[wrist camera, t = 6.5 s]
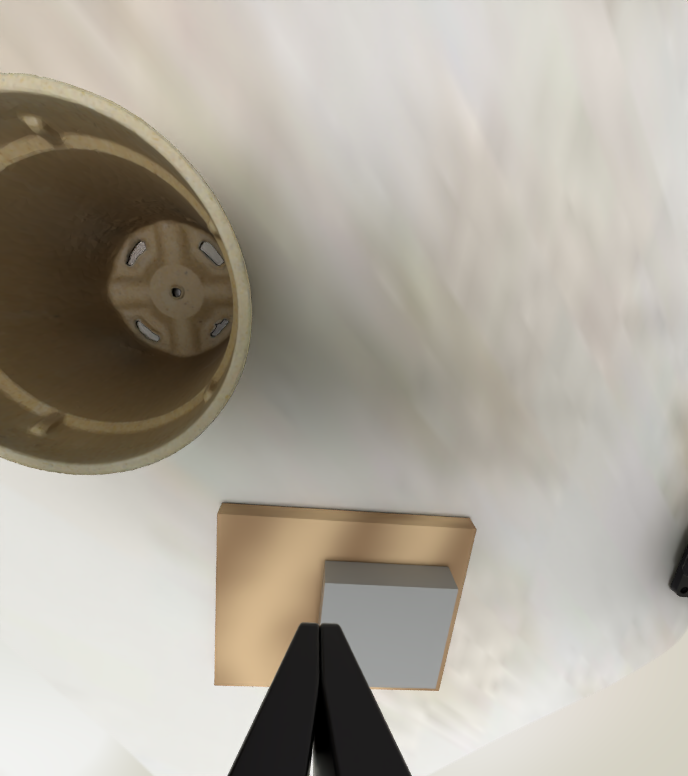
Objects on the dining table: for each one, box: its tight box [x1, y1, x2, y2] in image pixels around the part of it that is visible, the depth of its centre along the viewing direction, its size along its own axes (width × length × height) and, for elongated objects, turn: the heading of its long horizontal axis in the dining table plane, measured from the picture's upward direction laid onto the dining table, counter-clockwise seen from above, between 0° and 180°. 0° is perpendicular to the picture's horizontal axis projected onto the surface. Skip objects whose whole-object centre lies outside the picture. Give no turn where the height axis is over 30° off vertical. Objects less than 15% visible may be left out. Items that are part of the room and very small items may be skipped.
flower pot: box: [0, 73, 252, 475], centre depth 13 cm, size 9×9×9 cm
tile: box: [318, 561, 458, 689], centre depth 21 cm, size 2×7×7 cm
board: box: [214, 503, 476, 691], centre depth 22 cm, size 14×12×1 cm
